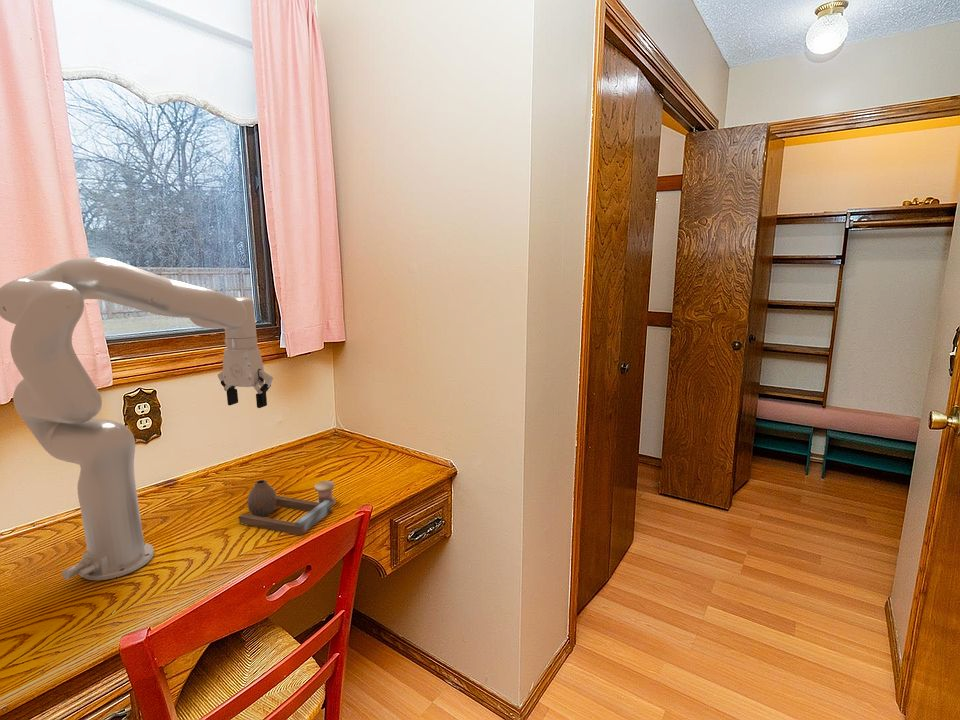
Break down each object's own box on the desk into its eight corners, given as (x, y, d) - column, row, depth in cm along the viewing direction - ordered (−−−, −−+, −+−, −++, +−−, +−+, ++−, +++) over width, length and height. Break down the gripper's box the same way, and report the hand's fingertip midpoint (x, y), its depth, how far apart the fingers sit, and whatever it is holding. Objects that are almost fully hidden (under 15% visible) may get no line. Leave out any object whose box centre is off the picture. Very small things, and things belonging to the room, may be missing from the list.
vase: (242, 517, 124) (239, 485, 122) (263, 505, 130) (260, 474, 129) (264, 522, 121) (261, 489, 120) (283, 509, 128) (281, 478, 126)
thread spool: (328, 509, 128) (327, 489, 127) (312, 506, 129) (310, 487, 128) (339, 500, 133) (338, 482, 132) (323, 498, 134) (322, 479, 133)
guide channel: (300, 535, 115) (300, 523, 115) (239, 523, 121) (238, 512, 120) (331, 511, 127) (330, 500, 126) (273, 502, 132) (272, 491, 131)
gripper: (204, 344, 130) (211, 406, 133) (258, 347, 125) (263, 411, 128) (226, 340, 137) (232, 399, 141) (278, 343, 132) (283, 404, 136)
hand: (247, 405), depth 134 cm, fingers open, 9 cm apart
